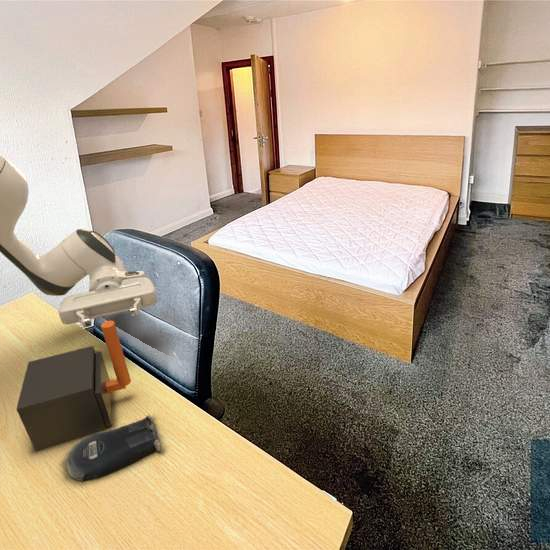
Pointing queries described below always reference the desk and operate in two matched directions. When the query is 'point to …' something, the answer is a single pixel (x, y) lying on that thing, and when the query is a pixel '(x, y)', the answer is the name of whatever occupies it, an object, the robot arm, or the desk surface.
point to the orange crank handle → (101, 377)
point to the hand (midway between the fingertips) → (110, 318)
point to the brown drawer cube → (60, 399)
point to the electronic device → (112, 450)
